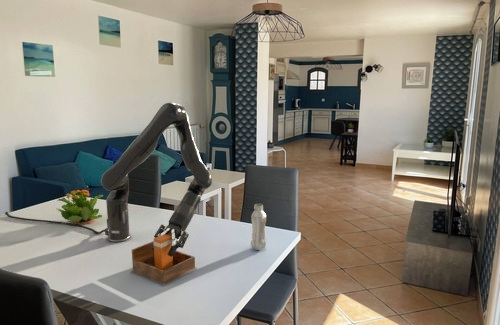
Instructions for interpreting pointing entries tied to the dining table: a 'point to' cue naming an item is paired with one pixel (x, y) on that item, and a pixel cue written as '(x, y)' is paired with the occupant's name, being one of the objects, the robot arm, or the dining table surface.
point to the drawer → (146, 266)
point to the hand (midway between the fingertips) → (161, 253)
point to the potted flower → (80, 208)
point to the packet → (163, 252)
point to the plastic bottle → (258, 228)
